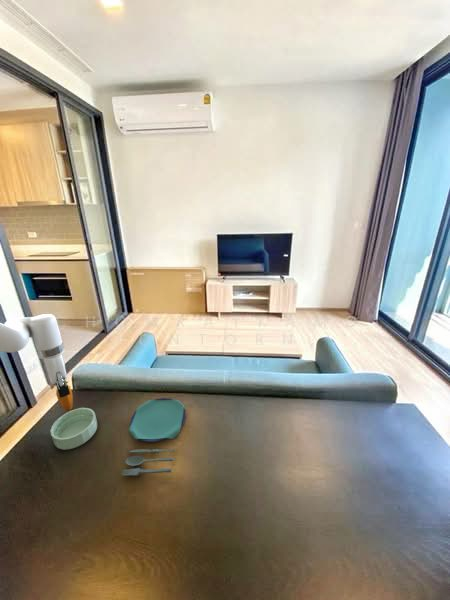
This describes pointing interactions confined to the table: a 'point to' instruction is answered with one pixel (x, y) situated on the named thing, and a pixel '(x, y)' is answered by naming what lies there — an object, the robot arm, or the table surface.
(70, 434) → the bowl
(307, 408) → the table surface
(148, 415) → the cutlery set
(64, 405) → the carrot
